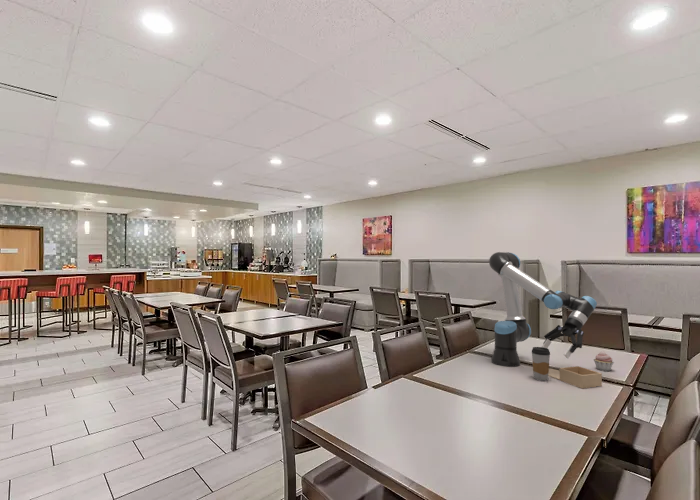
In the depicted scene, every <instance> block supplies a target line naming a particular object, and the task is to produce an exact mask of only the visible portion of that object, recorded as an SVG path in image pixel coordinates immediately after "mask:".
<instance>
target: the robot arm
mask: <svg viewBox="0 0 700 500" xmlns="http://www.w3.org/2000/svg"><path fill="white" fill-rule="evenodd" d="M488 265H489V267H490V269H492V270H493V271H494V272H496V273H497V275H498V276H499V277H500V278H501V284H502V291H503V297H504V298H503V299H504V303H505V309H506V317H505V319H504V320H499V321H497V322H496V323H495V324H494V329H493V330H494V349H493V352H492V355H491V363H493V364H495V365H498V366H503V367H519V366H521V360H520V357H519V354H518V351H517V347H518V346H517V343H520V342H524V341H526V340H527V339H529V338H530V336H531V334H532V329H531V326H530V324H529V323H527V318H526V317H525V316H524V315H523V309H522V303H521V296H520V291H519V287H521V289H523V290H525V291H526V292H528V293H529V294H531V295H532V296H534V297H535V298H537V299H539V301H541V302H543V304H544V306H545V307H546V308H548V310H549V309H550V310H559V309H565V308H566V309H568V310H571V311H572V312H571V313H570V314H569V316H568V317H567V319H566V320H565V321H564V324H563V326H561V325H560V324H558V325H556V326H555V327H554V328H553V329H551V330H550V331H549V332H547V333H546V334H545V335H544V336H543V337H544V338H545V340H544V342H543V344H542V345H541V347H543V348H547V349H549V346H550V345H551V343H552V341H554V340H556V339H560V337H568V338H570V340H571V344H570V345H569V346H568V347H567V349H566V350H565V352H564V354H563V356H564V357H565V358H566V359H569V358H570V357H571V355H572V354H574V353H575V351H576V350H577V349H578V348H579V349H582V348H583V337H584V334H585V333H584V331H583V330H582V328H583V326H584V325H585V324H586V322H587V321H588V319H589V318H590V317H591V315H592V313H593V312H594V311H595V310H596V307H597V304H598V302H597V301H596V299H594V298H593V297H591V296H589V295H584V296H582V297H581V298H580V297H578V296H574V295H572V294H570V293H567V292H565V291H561V290H556V291H553V290H552V289H550V288H549V287H547V286H546V285H544V284H542V283H541V282H539V281H538V280H536V279H534V278H533V277H532V276H530V275H529V274H527V273H526V272H524V271H523V270H521V269H519V268H520V267H521V260H520V258H519V256H518V255H516V254H515V253H513V252H507V251H506V252H505V251H503V252H500V251H499V252H494V253H493V254H491V256H490V257H489V258H488ZM576 336H577V337H576Z"/></svg>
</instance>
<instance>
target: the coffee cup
mask: <svg viewBox="0 0 700 500" xmlns="http://www.w3.org/2000/svg"><path fill="white" fill-rule="evenodd" d="M531 355H532V356H531V357H532V362H531V363H532V371H533V372H532V373H533V374H532V375H533V378H534V379H535V380H537V381H544V382H545V381H546V382H547V381H548V380H549V376H548V373H549V368H550V355H551V351H550V349H549V348H543V347H542V346H534V347H532V349H531Z"/></svg>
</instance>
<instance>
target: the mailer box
mask: <svg viewBox="0 0 700 500" xmlns="http://www.w3.org/2000/svg"><path fill="white" fill-rule="evenodd" d="M602 376H603V374H602V372H598V371H595V370H591V369H589V368H586V367H583V366H578V365H577V366H568V367H559V369H554V368H551V367H549V373H548V377H549V378H552V379H555V380H557V381H558V380H559V381H561V382H564V383H566V384H569V385H572V386H574V387H577V388H579V389H582V390H584V389H591V388H590V387H592V388H597V387H596V386H600V387H602V386H603V379H602Z"/></svg>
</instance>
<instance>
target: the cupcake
mask: <svg viewBox="0 0 700 500" xmlns="http://www.w3.org/2000/svg"><path fill="white" fill-rule="evenodd" d="M593 361H594V363H595V367H596V369H597V370H599V371H602V370H604V371H603V372H610V371H611V370H612V367H613V365H614V363H615V362H614V361H613V358H612V357H611V356H610V354H607V353H606V352H605V351H600V352H598V354H596V355H595V358H594V359H593Z"/></svg>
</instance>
